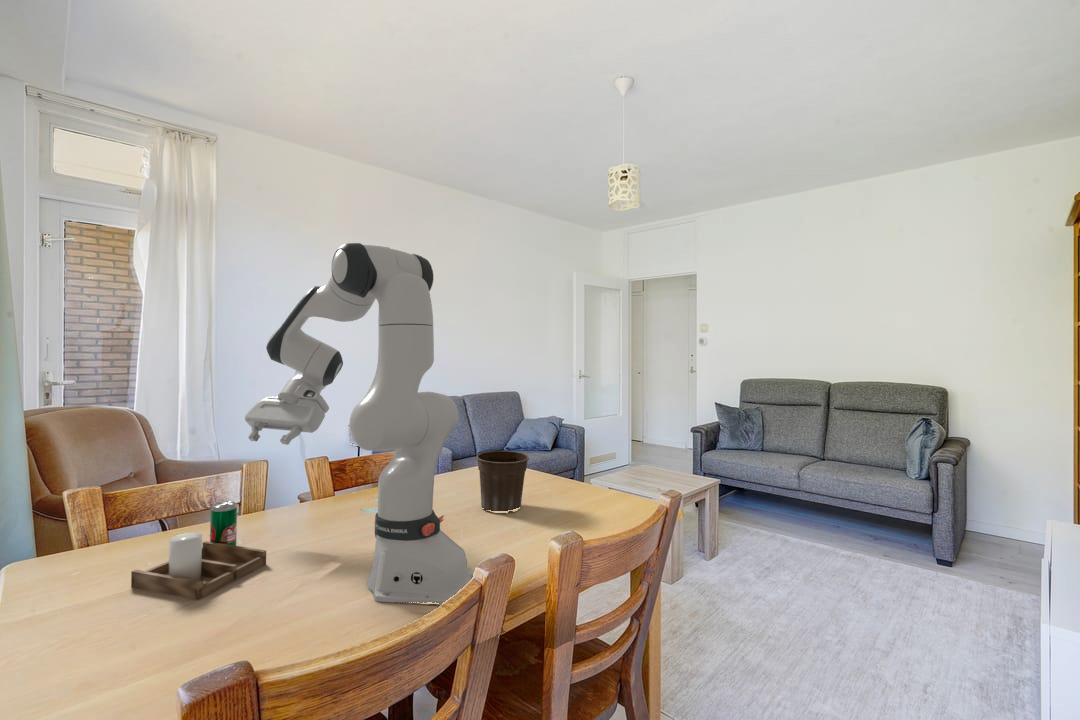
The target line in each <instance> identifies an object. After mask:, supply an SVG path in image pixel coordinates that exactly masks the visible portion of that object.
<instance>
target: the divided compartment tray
mask: <svg viewBox="0 0 1080 720" xmlns="http://www.w3.org/2000/svg"><path fill="white" fill-rule="evenodd" d="M266 565H267V550H265V549H259V548H253V547H246V546H240V545H236V546H234V545H227V544H221V543H214V542H210V541H207V540H205V541H202V566H201V581H197V580H191V579H186V578H180V577H174V576H169V560H168V561H165V562H163V563H161V564H159V565H157V566H153V567H150V568H149V569H146V570H141V569H134V570H132V571H131V572H130V573H131V575H130V577H131V578H130V579H131V581H130V582H131V583H130V584H131V585H130V587H131V588H132V589H139V590H142V591H149V592H155V593H159V594H165V595H169V596H170V595H171V596H175V597H180V598H186V599H191V600H196V601H200V600H202V599H204V598H205V597H207V596H209V595H211V594H213V593H215V592H216V591H219V590H221V589H222V588H225V587H227V586H228V585H230V584H232V583H234V582H236V581H238V580H240V579H242V578H243V577H245V576H248V575H249V574H251V573H253V572H255V571H257V570H258V569H260V568H262V567H264V566H266Z"/></svg>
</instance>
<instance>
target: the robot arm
mask: <svg viewBox="0 0 1080 720" xmlns="http://www.w3.org/2000/svg"><path fill="white" fill-rule="evenodd" d="M433 284H434V271H433V268H432V265H431V263H430V261H429V260H428V259H427V258H425V257H423V256H421V255H419V254H416V253H408V252H406V251H402V250H398V249H394V248H390V247H389V246H381V245H373V244H362V243H360V242H352V243H351V242H349V243H344V244H342V245H340V246H339V247H338V248H337V249H336V251H335V252H334V255H333V257H332V261H331V276H330V278H329V281H328V282H327V283H326V284H324V285H322V286H321V285H320V286H317V285H316V286H313V287H311V288H310V289H309V290H308V291H307V292H306V293H305V294H304V295H303V296H302V298H301V299H300V300H299V301H298V303H297V304H296V305H295V307H294V308H293V309H292V311H291V312H290V314H289V315H288V317H286V318H285V320H284V321H283V322H282V324H281V326H280V327H279V328H277V330H275V331H274V332H273V333H272V334H271V336H270V337H269V338H268V341H267V344H266V345H265V346H266V347H265V349H266V352H267V355H268V357H269V358H270V361H273V362H276V363H278V364H281V365H284V366H286V367H289V368H291V369H293V370H295V372H294V375H293V376H292V377H291V378H290V379H289V380H288V381H287V382H286V383H285V385H284V386H283V388H282V389H281V391H280V392H279V393H278V395H277V396H267V397H265V398H262V399H260V400H258V402H256V403H255V404H254V405H253V406H252V408H251V409H250V410H249V411H248V412H247V413H246V414H245V416H244V421H245V422H246V423H247V424H248V425H249V426H250V427H251V432H250V434H249V435H248V439H249V441H252V442H258V441H259V439H260V438H261V436H260V434H259V432H262V430H263V429H265V430H266V429H268V430H269V429H271V430H277V431H278V430H280V431H289V432H288V433H286V434H283V435H282V436H281V438H280V440H279V442H280V443H281V444H282V445H287V446H288V445H290V443H291V442H292V441H293V440H294V439H295V438H296V437H298V436H300V435H301V434H302V433H309V434H312V433H314V432H316V431H318V429H319V428H320V427H321V425H322V424H323V421H324V419H325V416H326V413H328V411H329V410H330V406H329V404H328V403H327V401H326V400H325V399H324V397H323V396H322V394H321V392H322V391H323V390H324V389H326V387H327V386H329V385H331V384H333V382H334V380H335V378H336V377H337V376H338V374H339V373H340V371H341V370H342V368H343V365H344V359H343V357H342V354H341V352H340V351H339V350H338V349H336V348H334V347H333V346H331V345H329V344H327V343H325V342H323V341H321V340H319V339H317V338H315V337H313V336H311V335H309V334H307V333H305V331H303V330H302V329H301V328H302V327H303V326H304V324H305V323H306V322H307V321H308V319H309V318H313V317H314V318H323V319H328V320H332V321H336V322H341V323H342V322H354V321H357V320H360V319H362V318H364V316H366V314H367V313H368V312H369V310H370V309H371V308H372V306H373V305H374V303H375V301H377V303H378V322H377V323H378V329H377V330H378V350H377V351H378V354H377V365H376V370H375V374H374V378H373V380H372V383H371V385H370V388H369V389H368V391H367V392H366V394H365V396H364V397H363V399H361V400H360V401H359V402H358V403H357V404H356V405H355V407H353V409H352V412H351V414H350V417H349V431H350V435H351V437H352V439H353V441H354V443H355V444H356V445H357V446H358V447H359V448H360V449H362V450H364V451H370V452H371V451H373V452H390V451H395V452H394V453H393V454H394V455H393V456H392V459H391V460H390V462H389V463H388V464H387V466H386V467H385V468H384V469H383V470H382V471H381V473H380V475H379V478H378V481H377V482H378V486H377V489H378V490H377V512H376V514H375V517H374V518H375V519H374V536H375V537H374V538H375V546H374V553H373V559H372V565H371V569H370V573H369V576H368V579H367V581H366V584H367V585H366V586H367V588H368V589H369V590H370V592H372V593H373V598H374V601H376V602H379V603H382V602H383V603H395V602H397V603H396V604H399V603H400V602H401V603H400V604H412V603H413V602H414V603H415V602H416V603H417V602H419V603H423V602H424V603H427V602H432V603H435V602H436V603H439V604H438V605H437V606H442V605H441V604H442V603H443V602H445V601H446V600H448V599H449V598H450V597H452V596H453V595H455V594H456V593H457V592H458V591H459V590H460V589H462V588H463V587H464V586H465V585H466V584H467V583H468V582H469V581H470V580H471V579H472V577H473V573H474V571H475V569H470V568H469V566H468V559H467V554H466V551H465V550H464V549H463V548H462V547H461V546H460V545H459V544H458V543H456V542H455V541H454V540H453V539H452V538H451V537H449V536H448V535H447V534H446V533H445V532H443V530H442V529H441V523H442V522H443V521H444V520H445V519H444V516H445V515H443V514H442V515H440V517H438V516H437V514H436V512H435V511H434V509H433V507H434V506H433V504H434V503H433V502H434V486H435V485H434V484H435V483H434V482H435V475H436V469H437V466H438V462H439V459H440V457H441V454H442V450H443V448H444V447H445V444H446V442H447V440H448V438H449V436H450V435H451V434H452V433H453V432H454V430H455V429H456V428H457V425H458V422H459V410H458V408H457V404H456V403H455V401H454V400H453V398H451V397H450V396H448V395H447V394H443V393H438V392H434V391H420V392H419V387H420V384H421V381H422V379H423V378H424V376H425V374H426V373H427V372H428V371H429V370H430V369H431V368H432V366H433V364H434V362H435V361H434V360H435V350H434V349H435V348H434V347H435V342H434V341H435V340H434V339H435V338H434V332H435V331H434V314H433V303H432V300H431V299H432V298H431V293H430V291H431V289H432V288H433ZM398 602H399V603H398ZM402 602H404V603H402ZM405 602H406V603H405ZM407 602H408V603H407ZM409 602H410V603H409ZM411 602H412V603H411Z"/></svg>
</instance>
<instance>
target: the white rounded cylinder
mask: <svg viewBox="0 0 1080 720" xmlns="http://www.w3.org/2000/svg"><path fill="white" fill-rule="evenodd" d="M168 542H169V543H168V544H169V545H168V546H169V547H168V561H169V576H174V577H180V578H186V579H191V580H197V581H201V566H202V547H203V533H200V532H186V533H185V532H184V533H181V534H177V535H173V536H172V537H170V538H169V540H168Z"/></svg>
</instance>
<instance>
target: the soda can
mask: <svg viewBox="0 0 1080 720" xmlns="http://www.w3.org/2000/svg"><path fill="white" fill-rule="evenodd" d="M209 516H210V522H209V524H210V525H209V526H210V527H209V530H210V531H209V542H214V543H221V544H227V545H234V546H237V541H238V540H237V539H238V538H237V537H238V536H237V535H238V531H237V530H238V506H237V505H236V501H234V500H233V501H232V500H225V501H219V502H216V503H213V504H212V507H211V509H210V515H209Z"/></svg>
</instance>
